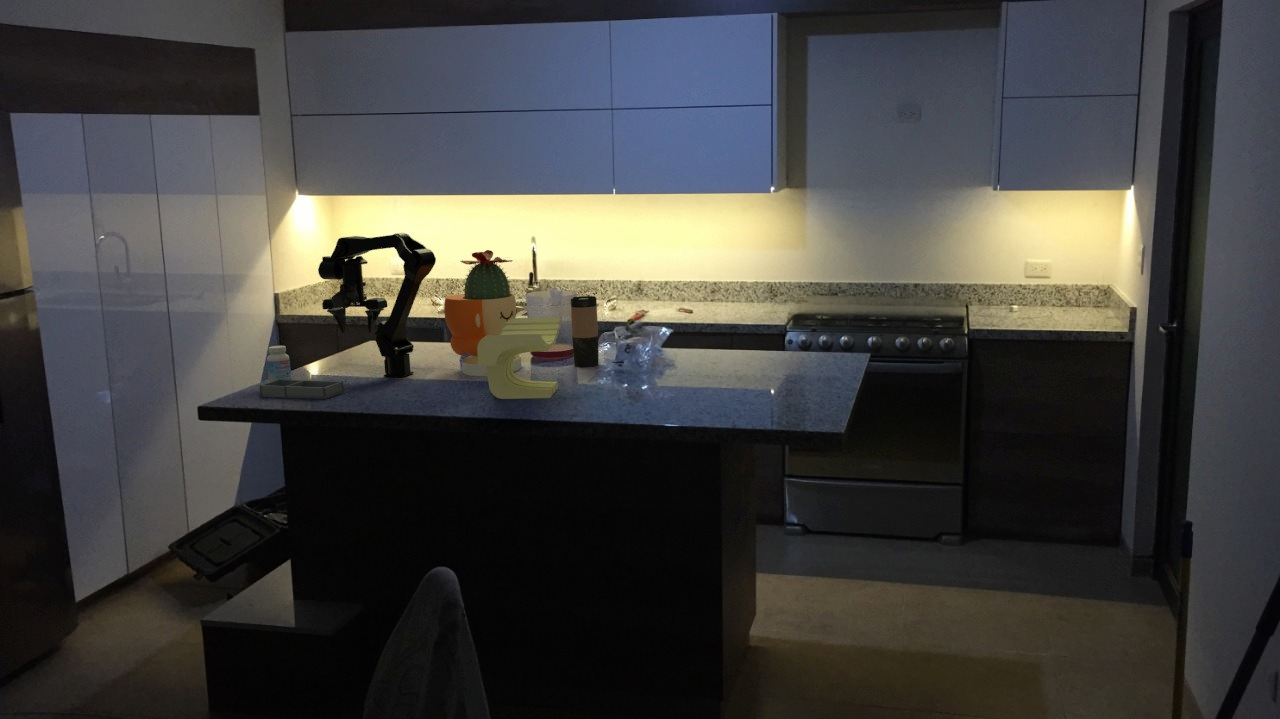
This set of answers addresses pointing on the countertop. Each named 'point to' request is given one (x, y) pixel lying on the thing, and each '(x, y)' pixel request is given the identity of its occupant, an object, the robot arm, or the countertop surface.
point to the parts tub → (301, 389)
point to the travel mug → (584, 331)
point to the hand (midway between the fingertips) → (357, 332)
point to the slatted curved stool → (513, 341)
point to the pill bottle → (278, 364)
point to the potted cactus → (480, 310)
